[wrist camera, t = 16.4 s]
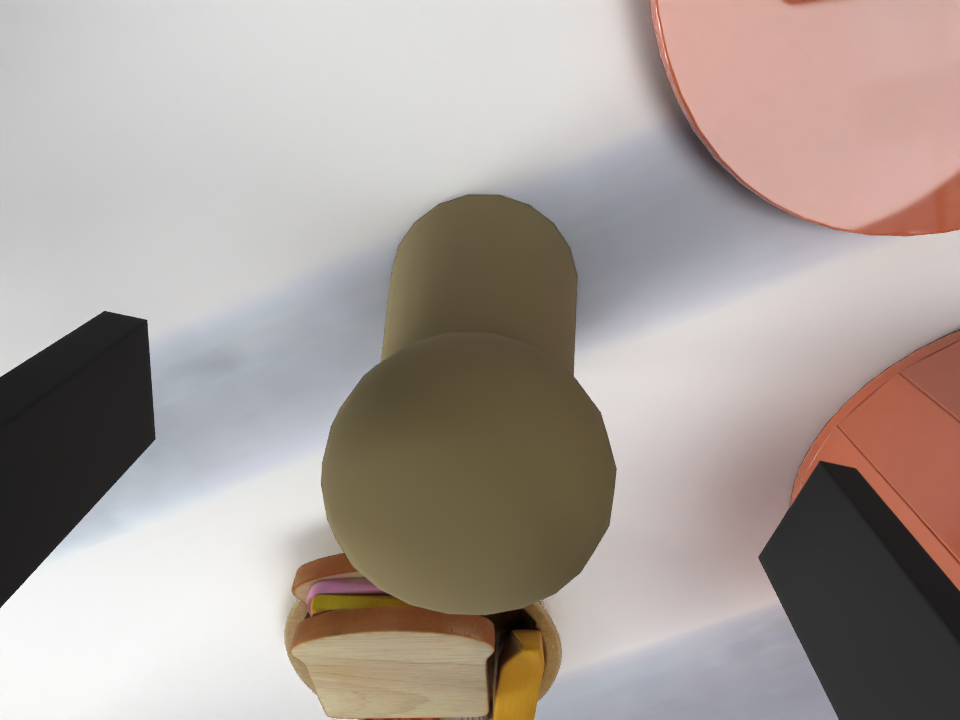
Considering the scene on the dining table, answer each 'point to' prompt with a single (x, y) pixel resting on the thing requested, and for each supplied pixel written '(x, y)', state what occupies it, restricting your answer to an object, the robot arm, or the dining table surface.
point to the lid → (826, 104)
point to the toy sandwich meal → (414, 652)
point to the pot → (906, 446)
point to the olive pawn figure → (473, 421)
